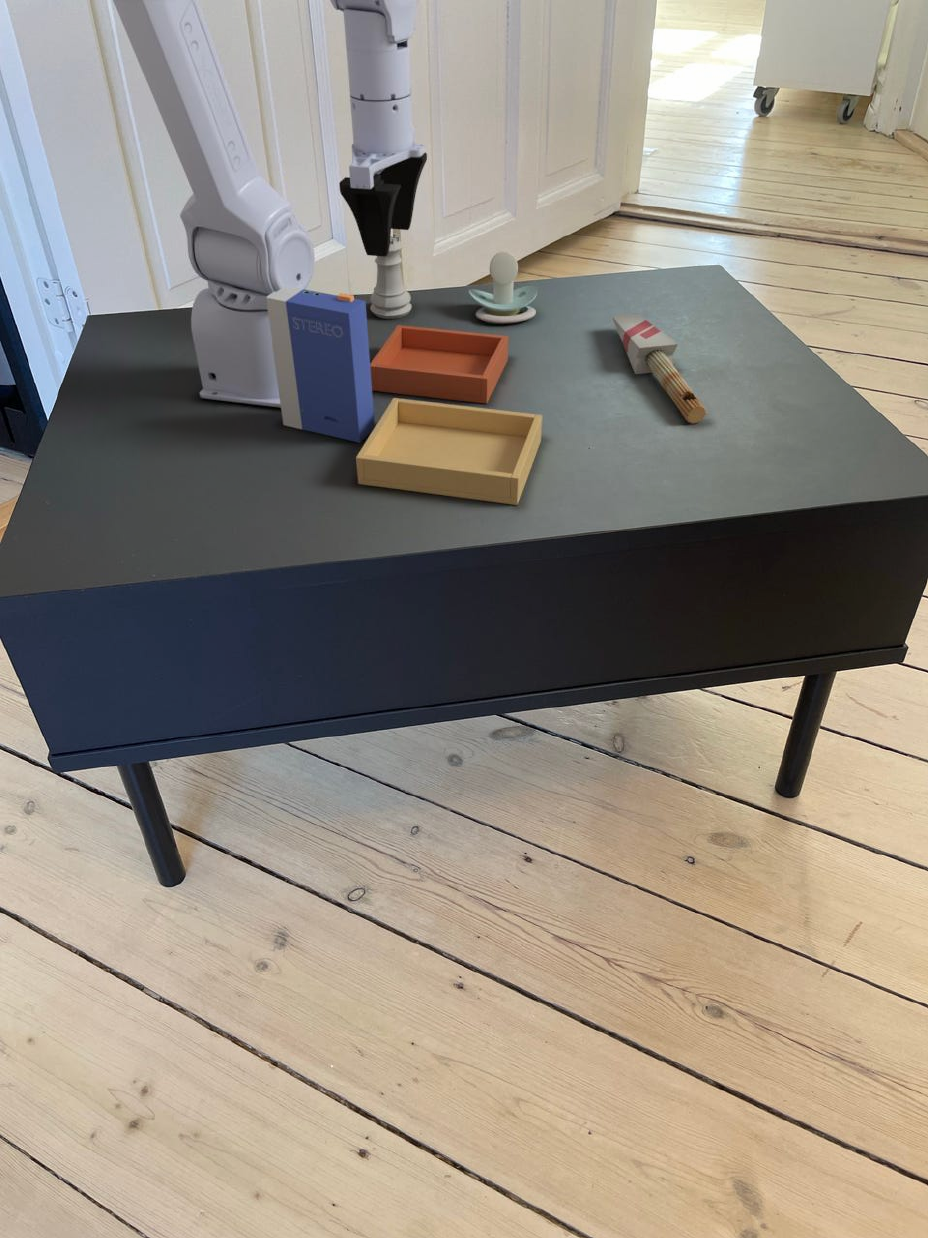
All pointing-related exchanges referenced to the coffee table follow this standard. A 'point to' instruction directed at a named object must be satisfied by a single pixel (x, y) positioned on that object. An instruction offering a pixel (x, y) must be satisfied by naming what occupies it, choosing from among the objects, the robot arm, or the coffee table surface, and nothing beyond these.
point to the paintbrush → (657, 361)
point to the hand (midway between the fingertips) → (388, 241)
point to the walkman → (322, 362)
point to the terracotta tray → (440, 363)
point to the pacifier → (504, 293)
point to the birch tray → (451, 450)
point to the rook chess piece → (390, 285)
